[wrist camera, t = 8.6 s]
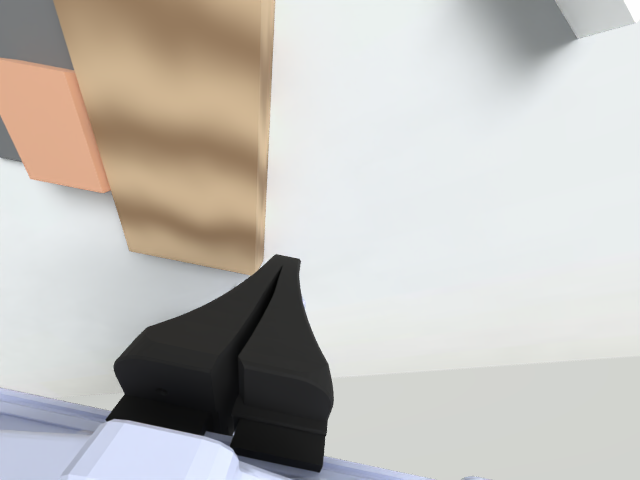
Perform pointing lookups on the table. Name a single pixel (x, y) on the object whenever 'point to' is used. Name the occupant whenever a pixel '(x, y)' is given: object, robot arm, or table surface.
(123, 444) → the robot arm
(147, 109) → the board
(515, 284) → the table surface
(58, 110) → the block
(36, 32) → the mat
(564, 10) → the bracket
